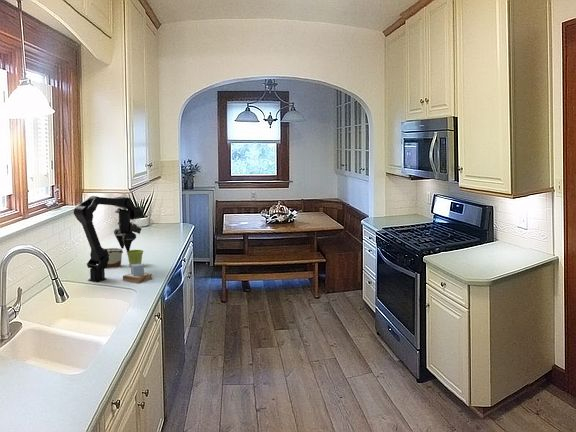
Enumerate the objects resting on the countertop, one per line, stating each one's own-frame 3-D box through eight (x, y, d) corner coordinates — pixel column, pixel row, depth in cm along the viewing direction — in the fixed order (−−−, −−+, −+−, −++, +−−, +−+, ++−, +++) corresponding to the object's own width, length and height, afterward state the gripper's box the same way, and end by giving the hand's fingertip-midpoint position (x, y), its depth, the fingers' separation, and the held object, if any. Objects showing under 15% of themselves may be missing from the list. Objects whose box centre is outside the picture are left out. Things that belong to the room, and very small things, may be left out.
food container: (122, 264, 290) (121, 247, 289) (123, 266, 285) (123, 249, 284) (99, 266, 285) (98, 248, 284) (100, 268, 280) (99, 250, 278)
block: (143, 275, 257) (143, 265, 257) (134, 276, 254) (133, 266, 254) (140, 272, 261) (140, 263, 261) (130, 274, 258) (130, 264, 258)
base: (138, 283, 252) (138, 278, 251) (122, 280, 256) (122, 275, 255) (151, 278, 261) (151, 273, 260) (136, 276, 265) (136, 271, 264)
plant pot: (125, 268, 281) (125, 253, 280) (127, 264, 290) (127, 249, 289) (143, 268, 283) (142, 252, 282) (144, 264, 292) (144, 249, 291)
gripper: (145, 222, 265) (146, 251, 267) (133, 217, 280) (134, 245, 282) (124, 223, 258) (124, 253, 261) (113, 219, 274) (114, 247, 276)
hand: (125, 249), depth 270 cm, fingers open, 9 cm apart
